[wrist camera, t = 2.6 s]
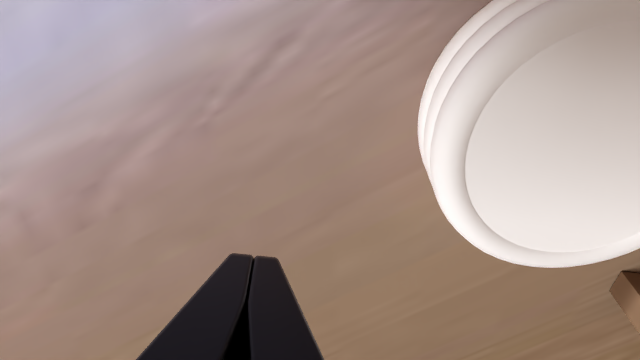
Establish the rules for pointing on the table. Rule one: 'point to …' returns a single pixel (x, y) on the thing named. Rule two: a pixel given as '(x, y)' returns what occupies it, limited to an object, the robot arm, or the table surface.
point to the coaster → (539, 130)
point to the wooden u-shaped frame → (628, 296)
